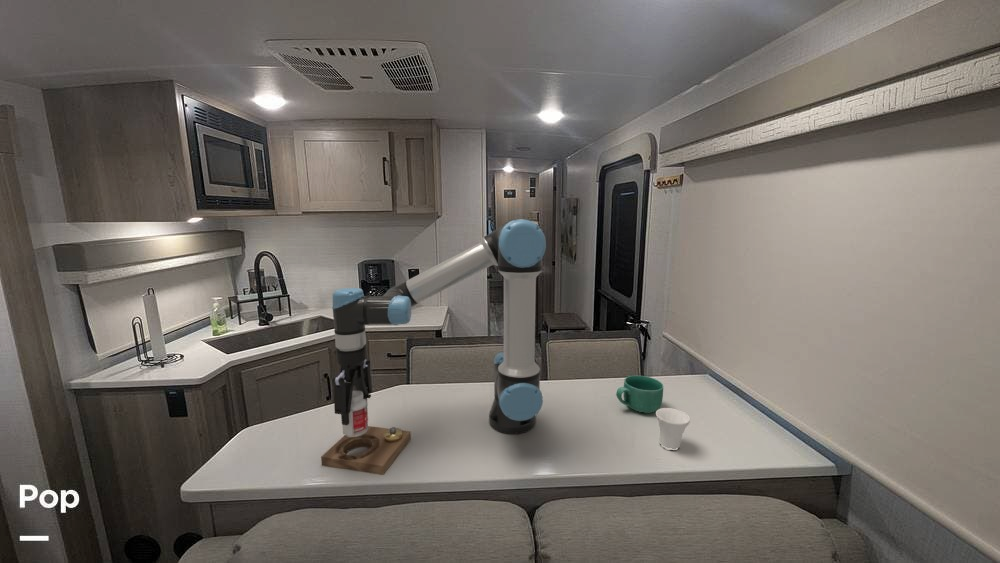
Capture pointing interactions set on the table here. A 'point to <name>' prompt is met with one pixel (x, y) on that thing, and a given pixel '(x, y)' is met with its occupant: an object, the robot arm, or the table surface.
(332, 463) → the carrier plate
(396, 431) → the disc
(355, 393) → the pill bottle
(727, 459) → the table surface
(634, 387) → the mug
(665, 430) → the cup
